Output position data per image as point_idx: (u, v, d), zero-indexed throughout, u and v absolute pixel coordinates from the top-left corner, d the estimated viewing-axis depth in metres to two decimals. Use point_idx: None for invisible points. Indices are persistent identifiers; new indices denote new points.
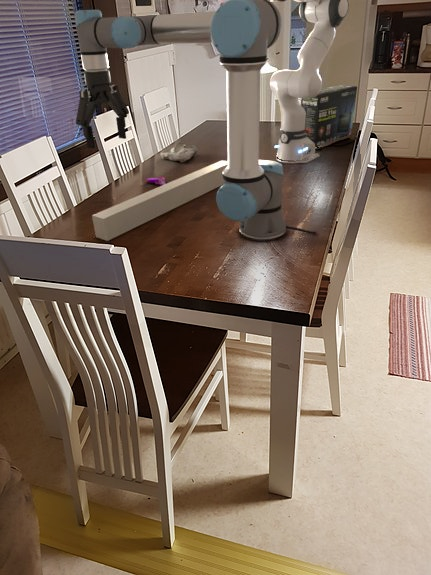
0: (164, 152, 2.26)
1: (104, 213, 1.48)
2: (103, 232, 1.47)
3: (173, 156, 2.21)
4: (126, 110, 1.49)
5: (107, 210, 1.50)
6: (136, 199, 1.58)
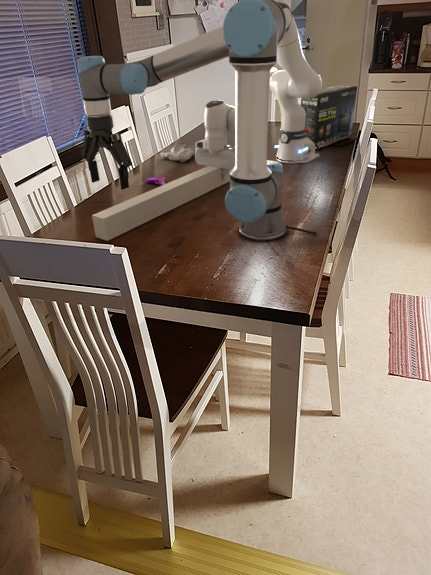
0: (164, 152, 2.26)
1: (104, 213, 1.48)
2: (103, 232, 1.47)
3: (173, 156, 2.21)
4: (123, 163, 1.36)
5: (107, 210, 1.50)
6: (136, 199, 1.58)
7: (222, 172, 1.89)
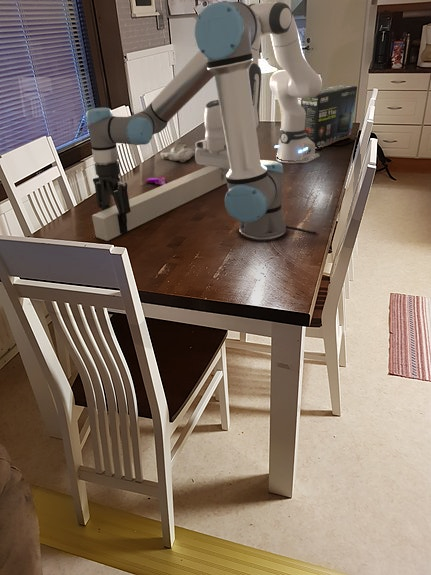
0: (164, 152, 2.26)
1: (104, 213, 1.48)
2: (103, 232, 1.47)
3: (173, 156, 2.21)
4: (123, 210, 1.46)
5: (107, 210, 1.50)
6: (136, 199, 1.58)
7: (222, 172, 1.89)
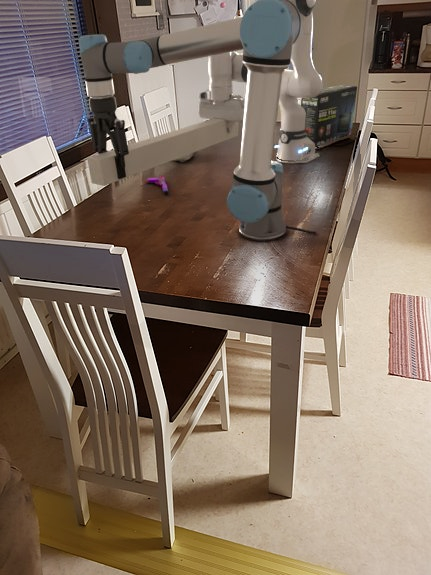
0: None
1: (100, 156, 1.36)
2: (100, 176, 1.35)
3: None
4: (120, 151, 1.34)
5: (104, 153, 1.38)
6: (136, 145, 1.46)
7: (227, 125, 1.78)
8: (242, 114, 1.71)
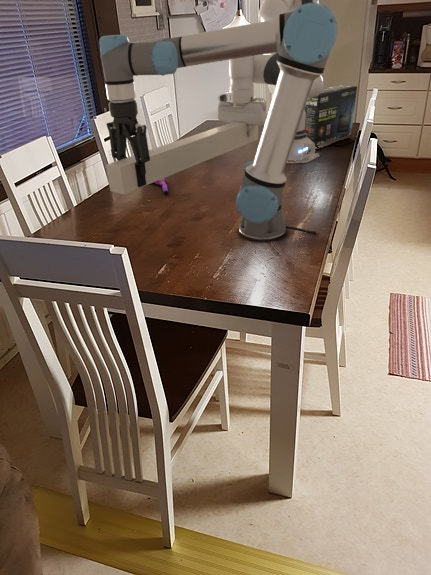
0: None
1: (120, 163, 1.29)
2: (119, 184, 1.28)
3: None
4: (141, 158, 1.27)
5: (123, 160, 1.31)
6: (156, 150, 1.39)
7: (247, 129, 1.70)
8: (264, 117, 1.64)
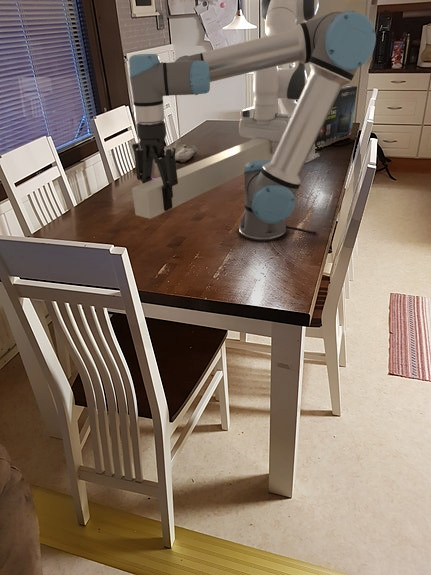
0: None
1: (146, 186, 1.23)
2: (146, 208, 1.23)
3: None
4: (169, 181, 1.21)
5: (149, 182, 1.26)
6: (181, 171, 1.33)
7: (271, 146, 1.65)
8: None
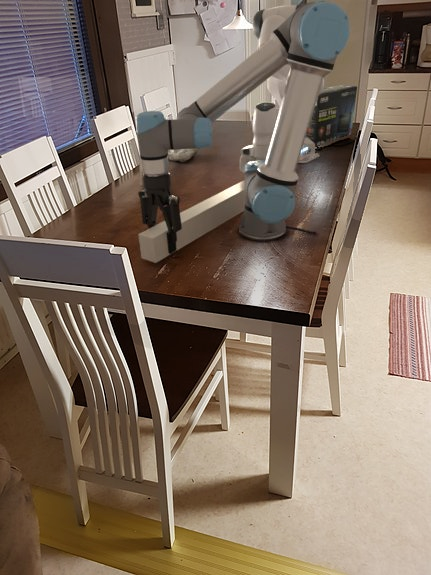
0: None
1: (151, 231, 1.30)
2: (151, 253, 1.29)
3: (173, 156, 2.21)
4: (174, 227, 1.28)
5: (154, 228, 1.33)
6: (185, 214, 1.40)
7: None
8: None
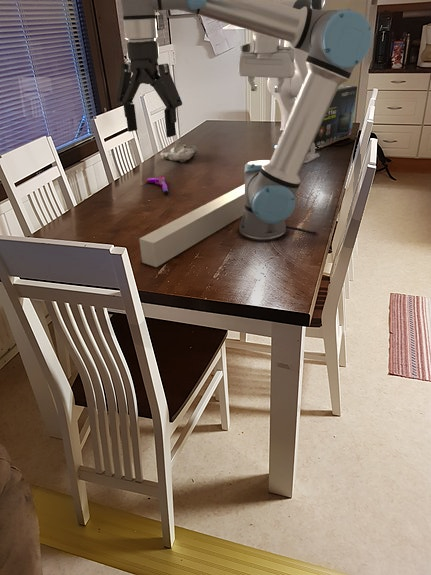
0: (164, 152, 2.26)
1: (152, 236, 1.31)
2: (152, 257, 1.30)
3: (173, 156, 2.21)
4: (172, 101, 1.09)
5: (155, 232, 1.33)
6: (185, 219, 1.41)
7: None
8: (291, 69, 1.48)
